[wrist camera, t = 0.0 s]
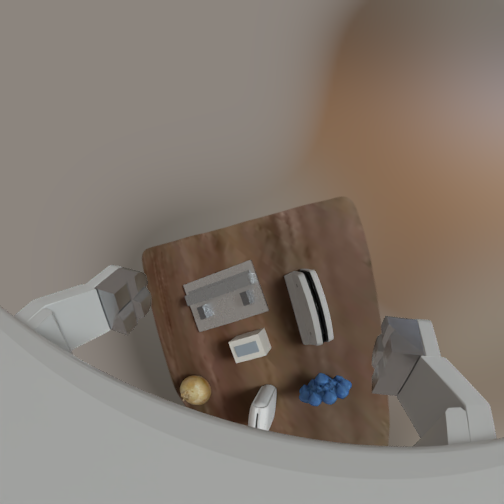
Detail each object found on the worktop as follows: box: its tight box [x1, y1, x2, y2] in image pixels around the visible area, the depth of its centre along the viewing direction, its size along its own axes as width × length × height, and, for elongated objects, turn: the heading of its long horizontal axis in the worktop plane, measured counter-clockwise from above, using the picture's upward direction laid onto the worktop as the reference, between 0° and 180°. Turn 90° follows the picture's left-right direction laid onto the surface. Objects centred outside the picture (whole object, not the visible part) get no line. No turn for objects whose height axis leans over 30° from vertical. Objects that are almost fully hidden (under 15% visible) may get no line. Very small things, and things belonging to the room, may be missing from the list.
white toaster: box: [284, 269, 334, 345], centre depth 58 cm, size 17×5×10 cm, turn 17°
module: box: [228, 328, 271, 363], centre depth 61 cm, size 5×7×6 cm
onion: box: [180, 375, 211, 405], centre depth 64 cm, size 8×8×7 cm
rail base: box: [183, 260, 269, 332], centre depth 65 cm, size 12×18×4 cm, turn 110°
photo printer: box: [248, 385, 277, 431], centre depth 57 cm, size 10×4×12 cm, turn 177°
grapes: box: [299, 373, 352, 406], centre depth 54 cm, size 12×7×12 cm, turn 108°
